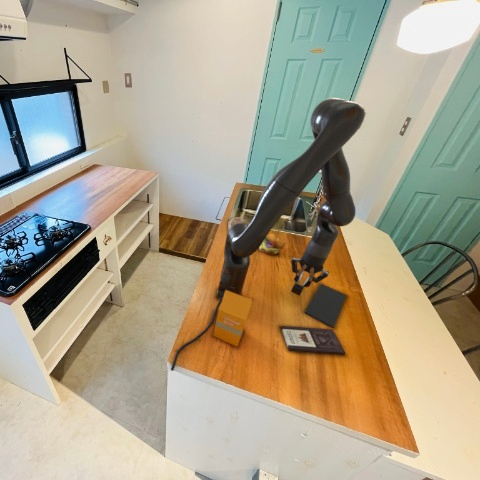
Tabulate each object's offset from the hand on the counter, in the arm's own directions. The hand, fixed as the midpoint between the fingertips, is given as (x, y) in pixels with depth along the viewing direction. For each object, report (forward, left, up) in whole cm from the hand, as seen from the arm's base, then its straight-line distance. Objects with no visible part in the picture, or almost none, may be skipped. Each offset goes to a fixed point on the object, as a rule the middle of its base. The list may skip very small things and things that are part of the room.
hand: (301, 283), depth 104 cm
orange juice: (-37, +12, -6) cm, 39 cm away
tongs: (+1, 0, 0) cm, 1 cm away
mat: (+2, -11, -5) cm, 12 cm away
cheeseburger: (+21, +21, -6) cm, 30 cm away
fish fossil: (+27, +43, -6) cm, 51 cm away
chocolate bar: (-20, -11, -5) cm, 23 cm away
